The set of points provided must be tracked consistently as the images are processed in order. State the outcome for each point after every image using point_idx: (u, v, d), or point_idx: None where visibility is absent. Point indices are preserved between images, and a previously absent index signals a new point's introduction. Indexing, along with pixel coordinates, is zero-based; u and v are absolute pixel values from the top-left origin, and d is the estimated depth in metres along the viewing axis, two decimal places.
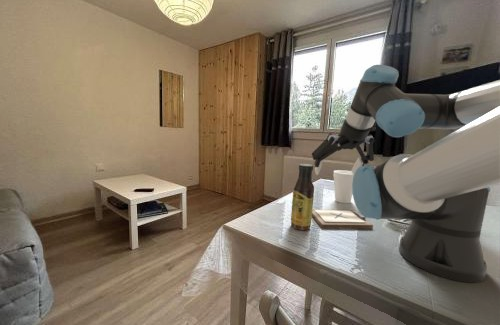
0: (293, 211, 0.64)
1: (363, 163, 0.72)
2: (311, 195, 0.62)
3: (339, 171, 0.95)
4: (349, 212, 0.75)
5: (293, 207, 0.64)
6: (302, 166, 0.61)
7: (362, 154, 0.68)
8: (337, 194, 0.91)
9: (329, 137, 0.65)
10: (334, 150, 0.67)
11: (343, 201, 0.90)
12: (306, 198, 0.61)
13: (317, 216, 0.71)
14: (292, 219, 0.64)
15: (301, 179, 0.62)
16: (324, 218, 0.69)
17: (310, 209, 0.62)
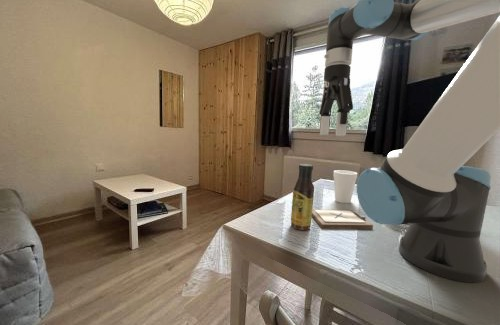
0: (293, 211, 0.64)
1: None
2: (311, 195, 0.62)
3: (339, 171, 0.95)
4: (349, 212, 0.75)
5: (293, 207, 0.64)
6: (302, 166, 0.61)
7: None
8: (337, 194, 0.91)
9: (346, 80, 0.60)
10: None
11: (343, 201, 0.90)
12: (306, 198, 0.61)
13: (317, 216, 0.71)
14: (292, 219, 0.64)
15: (301, 179, 0.62)
16: (324, 218, 0.69)
17: (310, 209, 0.62)
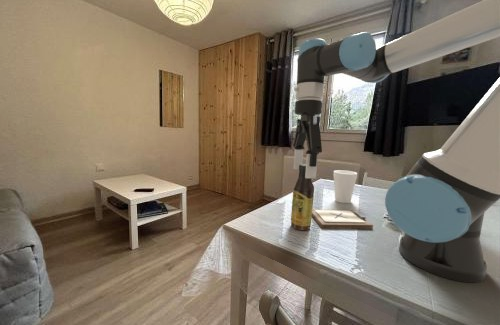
0: (293, 211, 0.64)
1: None
2: (311, 195, 0.62)
3: (339, 171, 0.95)
4: (349, 212, 0.75)
5: (293, 207, 0.64)
6: (302, 166, 0.61)
7: None
8: (337, 194, 0.91)
9: (315, 118, 0.54)
10: None
11: (343, 201, 0.90)
12: (306, 198, 0.61)
13: (317, 216, 0.71)
14: (292, 219, 0.64)
15: (301, 179, 0.62)
16: (324, 218, 0.69)
17: (310, 209, 0.62)
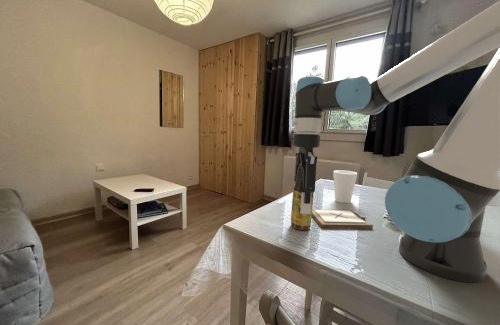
0: (293, 211, 0.64)
1: None
2: None
3: (339, 171, 0.95)
4: (349, 212, 0.75)
5: (293, 207, 0.64)
6: None
7: None
8: (337, 194, 0.91)
9: (312, 159, 0.56)
10: None
11: (343, 201, 0.90)
12: None
13: (317, 216, 0.71)
14: (292, 219, 0.64)
15: (301, 179, 0.62)
16: (324, 218, 0.69)
17: None
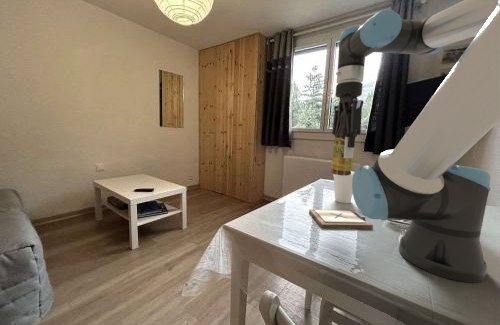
0: (335, 158, 0.68)
1: None
2: None
3: None
4: (349, 212, 0.75)
5: (335, 154, 0.68)
6: None
7: None
8: (337, 194, 0.91)
9: (359, 103, 0.60)
10: None
11: (343, 201, 0.90)
12: None
13: (317, 216, 0.71)
14: (334, 166, 0.68)
15: (344, 126, 0.66)
16: (324, 218, 0.69)
17: None
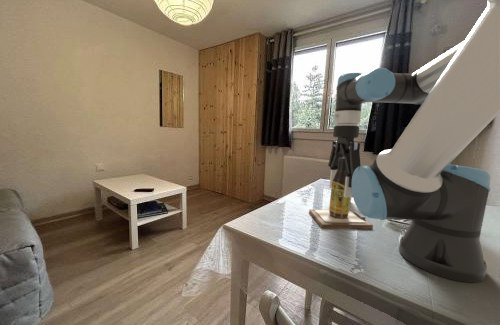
0: (333, 201, 0.70)
1: None
2: None
3: None
4: (349, 212, 0.75)
5: (333, 197, 0.70)
6: (342, 159, 0.67)
7: None
8: None
9: (356, 145, 0.62)
10: None
11: None
12: None
13: (317, 216, 0.71)
14: (331, 208, 0.70)
15: (341, 171, 0.68)
16: (324, 218, 0.69)
17: (349, 198, 0.68)
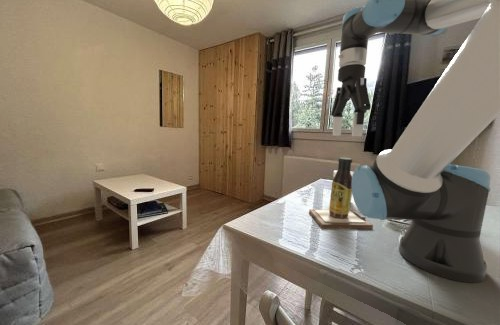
0: (333, 201, 0.70)
1: None
2: (350, 186, 0.67)
3: None
4: (349, 212, 0.75)
5: (333, 197, 0.70)
6: (342, 159, 0.67)
7: None
8: None
9: (362, 79, 0.59)
10: None
11: None
12: (346, 189, 0.67)
13: (317, 216, 0.71)
14: (331, 208, 0.70)
15: (341, 171, 0.68)
16: (324, 218, 0.69)
17: (349, 199, 0.68)
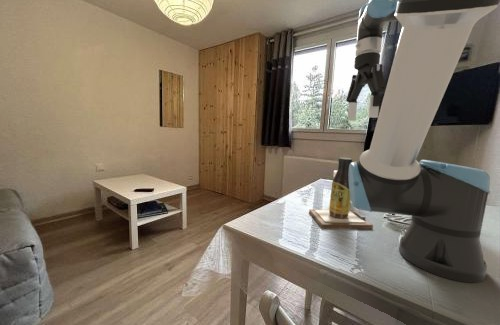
0: (333, 201, 0.70)
1: None
2: None
3: None
4: (349, 212, 0.75)
5: (333, 197, 0.70)
6: (342, 159, 0.67)
7: None
8: None
9: (378, 65, 0.66)
10: None
11: None
12: (346, 189, 0.67)
13: (317, 216, 0.71)
14: (331, 208, 0.70)
15: (341, 171, 0.68)
16: (324, 218, 0.69)
17: (349, 199, 0.68)
